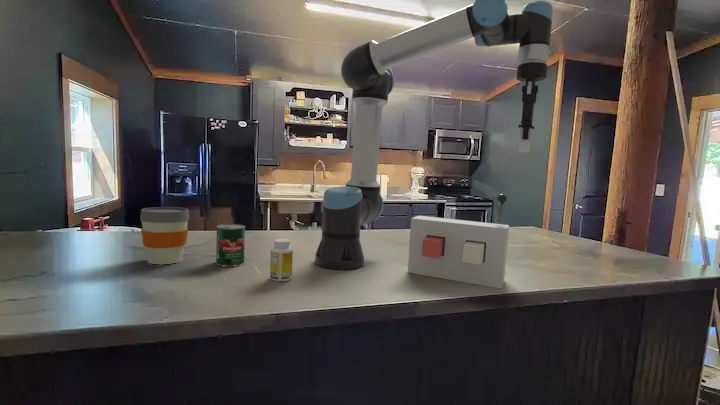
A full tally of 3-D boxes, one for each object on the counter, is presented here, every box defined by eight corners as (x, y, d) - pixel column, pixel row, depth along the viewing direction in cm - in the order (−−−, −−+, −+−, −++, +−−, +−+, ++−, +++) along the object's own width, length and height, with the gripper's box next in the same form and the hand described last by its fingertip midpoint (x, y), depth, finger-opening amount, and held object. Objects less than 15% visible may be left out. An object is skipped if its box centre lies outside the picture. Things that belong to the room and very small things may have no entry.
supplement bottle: (293, 276, 103) (294, 238, 102) (289, 282, 98) (290, 243, 97) (272, 275, 103) (273, 237, 102) (267, 281, 98) (268, 241, 97)
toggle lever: (493, 221, 105) (497, 192, 107) (493, 224, 107) (497, 195, 110) (503, 222, 104) (507, 193, 106) (503, 225, 106) (507, 196, 109)
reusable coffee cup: (159, 254, 118) (159, 205, 117) (197, 257, 117) (198, 208, 115) (129, 264, 106) (129, 210, 105) (171, 268, 104) (172, 213, 103)
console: (407, 272, 113) (411, 218, 112) (415, 266, 120) (419, 215, 119) (501, 288, 102) (506, 228, 101) (504, 280, 109) (509, 225, 108)
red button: (421, 255, 106) (422, 239, 105) (427, 251, 111) (428, 236, 111) (438, 258, 104) (439, 241, 103) (443, 254, 109) (444, 238, 109)
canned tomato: (233, 258, 118) (234, 223, 117) (250, 263, 114) (251, 226, 113) (210, 263, 112) (210, 225, 111) (226, 268, 107) (227, 229, 106)
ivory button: (462, 261, 101) (463, 244, 101) (466, 257, 107) (467, 241, 106) (480, 264, 99) (482, 247, 99) (483, 259, 105) (485, 243, 104)
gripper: (548, 56, 97) (538, 151, 99) (547, 70, 109) (539, 153, 112) (516, 58, 100) (507, 150, 102) (518, 71, 112) (511, 153, 115)
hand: (524, 152), depth 107 cm, fingers closed
